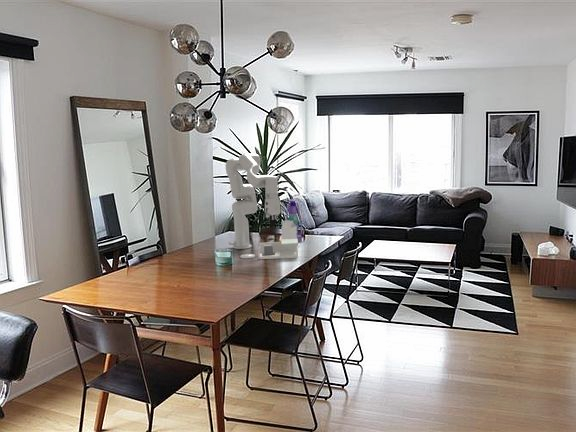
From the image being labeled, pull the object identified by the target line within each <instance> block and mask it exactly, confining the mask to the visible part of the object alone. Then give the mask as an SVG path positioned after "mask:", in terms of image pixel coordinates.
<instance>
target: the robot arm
mask: <svg viewBox="0 0 576 432" xmlns="http://www.w3.org/2000/svg"><path fill="white" fill-rule="evenodd" d="M260 164H261V157H260V155H259V154H257V153H245V154H241V155H240V156H239V157H233V158H230V159H228V160H227V161H226V163H225V172H226V175H227V178H228V180H229V185H230V191H231V195H232V196H231V197H232V198H233V199H234V200H237V201H234V202H233V203H232V205H231V210H232V215H233V225H234V241H228V245H229V246H232V248H233V249H237V250H244V249H251V248H252V246H253V245H252V244H250V229H249V220H248V217H246V215H250V214H251V215H252V214H255V213H256V212H257V211H258V203H257V195H256V189H260V188H265V191H264V192H265V195H264V196H265V200H264V214H265V218H268V219H269V226H270V227H276V226H277V224H276V223H277V222H276V220H277V217H278V216H279V215H280V214H281V202H280V197H279V191H278V190H279V189H278V187H279V185H278V177H277V176H276V175H271V174H263V175H257V174H258V173H259V171H260ZM241 171H245V172H246V179H247V182H248V183H244V182H243V178H242V176H241V174H240V173H239V172H241ZM240 199H241V200H240ZM244 199H246V200H244Z"/></svg>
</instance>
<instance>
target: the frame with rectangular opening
mask: <svg viewBox="0 0 576 432" xmlns="http://www.w3.org/2000/svg"><path fill="white" fill-rule="evenodd" d="M269 244H272V245H273V255H269V256H265V255H264V245H269ZM298 246H299V245H294V246H280V241H274V242H273V241H272V242H268V241H267V242H259V243H258V247H257V252H258V253H257V257H258V260H271V259H272V260H273V259H274V260H275V259H298V258H299V248H298Z"/></svg>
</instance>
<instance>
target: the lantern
mask: <svg viewBox="0 0 576 432" xmlns="http://www.w3.org/2000/svg"><path fill="white" fill-rule="evenodd" d="M288 201H289V203H287V205H286V214H285V220H286V221H293V223H294V224H295V225H296V227H297V239H298V243H300V242H302V240H303V235H302V234H303V224H302V216H301V213H300V206H299V203H298V202H297V199H294V198H291V199H289V200H288ZM297 214H298V215H297ZM299 227H300V233H299V232H298V231H299Z"/></svg>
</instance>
